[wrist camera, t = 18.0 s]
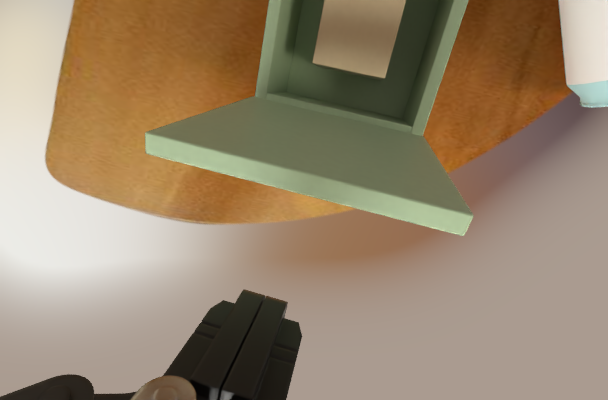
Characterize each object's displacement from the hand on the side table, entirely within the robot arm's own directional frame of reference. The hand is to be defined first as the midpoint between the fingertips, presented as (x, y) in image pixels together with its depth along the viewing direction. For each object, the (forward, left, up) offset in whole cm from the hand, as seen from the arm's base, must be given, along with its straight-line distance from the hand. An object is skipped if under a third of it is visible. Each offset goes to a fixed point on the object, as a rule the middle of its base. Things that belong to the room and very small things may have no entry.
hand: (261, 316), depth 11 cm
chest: (-11, 0, -21) cm, 23 cm away
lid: (-5, 0, -8) cm, 9 cm away
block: (-11, 0, -20) cm, 23 cm away
